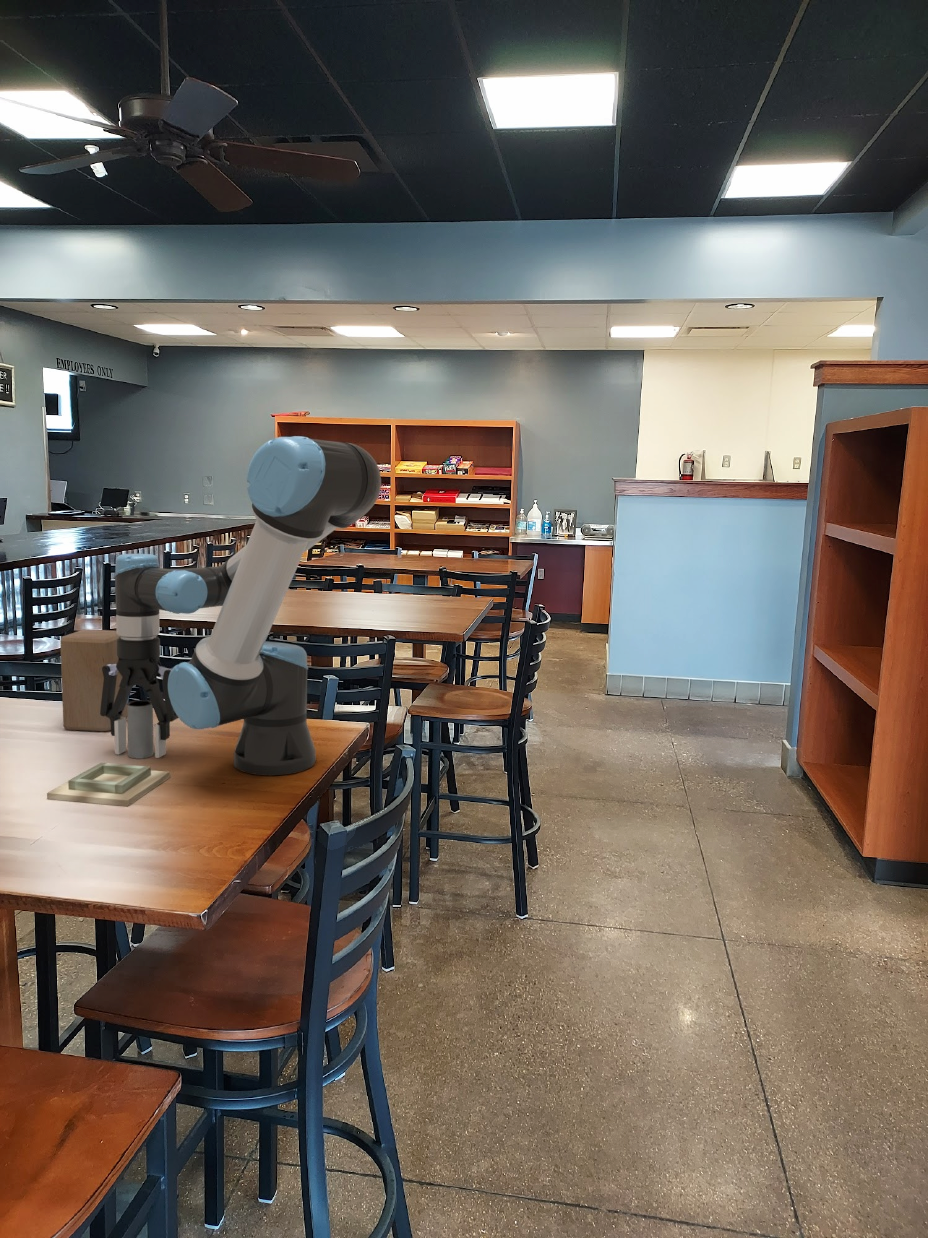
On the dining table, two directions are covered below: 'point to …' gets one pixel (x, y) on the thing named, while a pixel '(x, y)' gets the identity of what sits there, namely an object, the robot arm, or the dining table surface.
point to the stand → (110, 784)
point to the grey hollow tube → (140, 729)
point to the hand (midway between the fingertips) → (140, 753)
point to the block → (87, 678)
